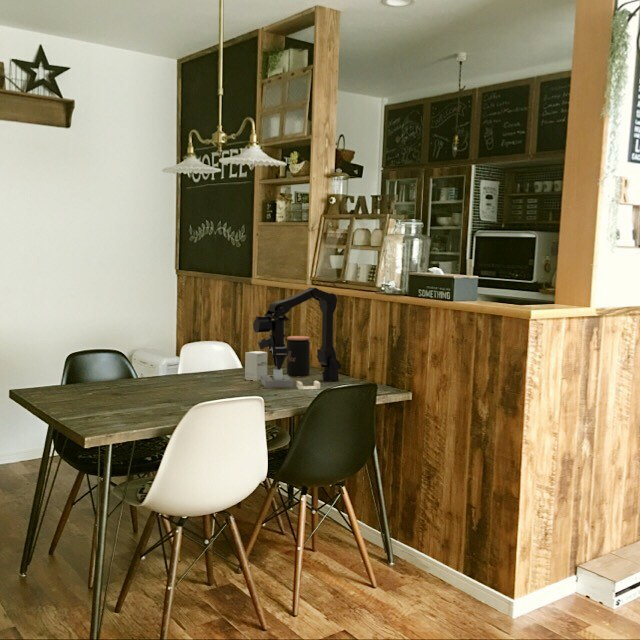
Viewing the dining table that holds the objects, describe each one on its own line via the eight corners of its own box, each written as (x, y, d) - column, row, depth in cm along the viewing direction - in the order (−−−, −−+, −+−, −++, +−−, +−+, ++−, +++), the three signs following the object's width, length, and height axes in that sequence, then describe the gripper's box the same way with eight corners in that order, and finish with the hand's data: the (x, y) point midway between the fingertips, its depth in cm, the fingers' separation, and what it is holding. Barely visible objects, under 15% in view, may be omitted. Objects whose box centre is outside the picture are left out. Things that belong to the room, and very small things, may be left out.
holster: (317, 387, 312) (317, 380, 312) (320, 390, 305) (320, 383, 305) (296, 388, 310) (296, 381, 310) (299, 391, 303) (299, 383, 303)
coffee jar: (284, 373, 350) (284, 336, 348) (305, 372, 353) (306, 335, 351) (290, 377, 339) (290, 338, 338) (312, 376, 343) (312, 338, 341)
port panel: (287, 382, 324) (287, 374, 324) (293, 388, 308) (293, 379, 308) (260, 383, 322) (260, 374, 321) (265, 389, 306) (265, 380, 306)
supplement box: (256, 381, 326) (256, 353, 325) (244, 379, 331) (244, 352, 330) (267, 379, 332) (267, 351, 331) (255, 377, 337) (255, 350, 336)
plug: (281, 384, 314) (281, 365, 313) (282, 386, 310) (282, 366, 310) (273, 384, 313) (273, 365, 312) (274, 386, 310) (274, 367, 309)
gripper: (256, 329, 317) (256, 365, 318) (261, 334, 299) (260, 371, 300) (281, 329, 319) (281, 365, 321) (288, 333, 301) (287, 371, 302)
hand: (277, 368), depth 311 cm, fingers open, 9 cm apart
